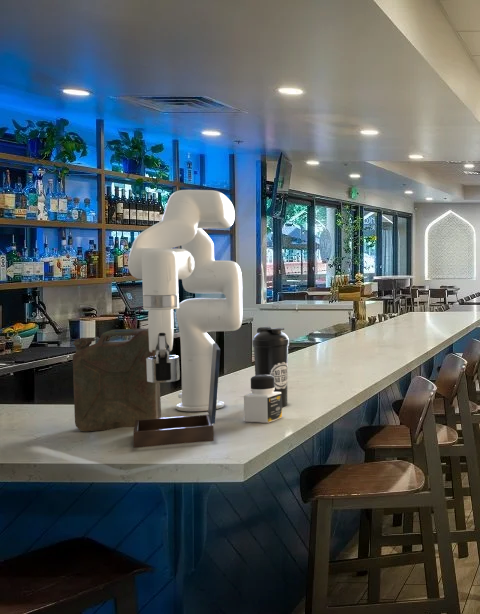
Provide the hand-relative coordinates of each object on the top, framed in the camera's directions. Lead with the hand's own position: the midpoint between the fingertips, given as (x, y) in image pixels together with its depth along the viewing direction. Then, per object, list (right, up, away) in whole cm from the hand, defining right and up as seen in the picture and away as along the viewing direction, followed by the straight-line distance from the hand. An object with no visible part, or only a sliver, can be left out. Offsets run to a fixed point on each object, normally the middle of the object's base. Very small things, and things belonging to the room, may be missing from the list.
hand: (163, 377), depth 186 cm
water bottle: (+10, -13, +45) cm, 48 cm away
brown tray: (+2, -15, +1) cm, 15 cm away
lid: (+10, -2, +4) cm, 11 cm away
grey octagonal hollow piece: (0, -1, 0) cm, 1 cm away
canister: (-19, -14, +16) cm, 28 cm away
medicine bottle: (+15, -14, +25) cm, 32 cm away
